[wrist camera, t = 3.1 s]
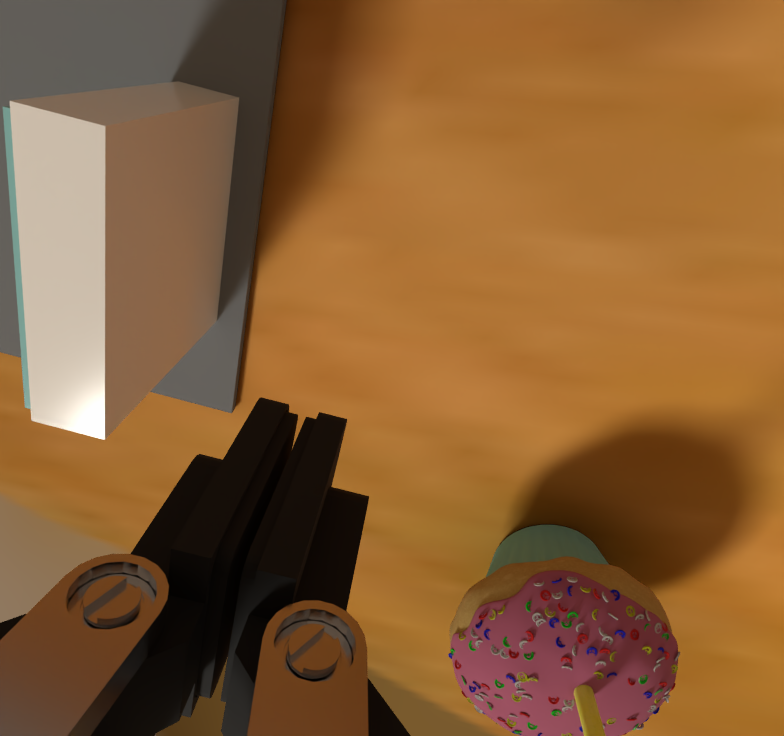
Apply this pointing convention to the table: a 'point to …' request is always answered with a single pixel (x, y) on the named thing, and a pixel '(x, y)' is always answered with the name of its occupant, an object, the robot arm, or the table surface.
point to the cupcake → (562, 640)
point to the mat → (145, 67)
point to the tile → (115, 241)
